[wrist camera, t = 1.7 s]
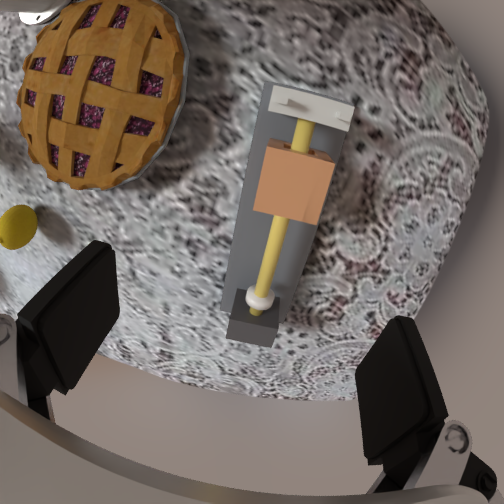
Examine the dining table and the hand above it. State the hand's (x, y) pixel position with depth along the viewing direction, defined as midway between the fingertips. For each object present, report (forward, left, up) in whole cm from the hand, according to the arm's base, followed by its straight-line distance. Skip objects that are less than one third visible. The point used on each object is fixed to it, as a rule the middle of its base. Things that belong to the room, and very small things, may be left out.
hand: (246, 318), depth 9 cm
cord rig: (+5, +2, -20) cm, 21 cm away
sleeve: (-1, +2, -18) cm, 19 cm away
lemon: (+11, -31, -20) cm, 39 cm away
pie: (-6, -19, -21) cm, 29 cm away
